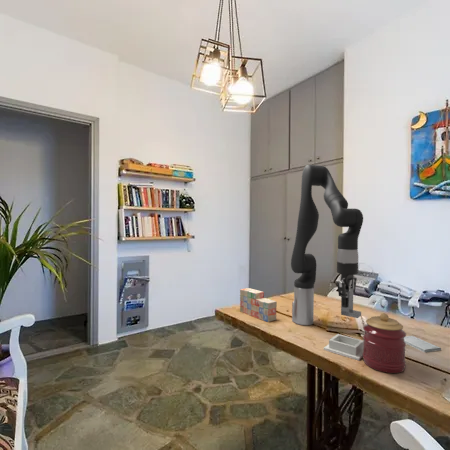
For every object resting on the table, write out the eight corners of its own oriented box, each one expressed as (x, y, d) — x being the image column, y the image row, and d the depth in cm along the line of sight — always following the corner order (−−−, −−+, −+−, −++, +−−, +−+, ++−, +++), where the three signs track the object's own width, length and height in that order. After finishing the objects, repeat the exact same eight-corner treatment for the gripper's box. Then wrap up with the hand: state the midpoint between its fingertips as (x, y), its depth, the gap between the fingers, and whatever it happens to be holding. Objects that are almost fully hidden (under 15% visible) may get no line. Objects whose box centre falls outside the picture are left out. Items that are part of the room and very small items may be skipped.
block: (341, 314, 113) (341, 288, 113) (345, 312, 116) (345, 286, 116) (357, 318, 109) (357, 290, 109) (361, 315, 112) (361, 289, 112)
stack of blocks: (276, 320, 148) (277, 295, 148) (267, 322, 144) (267, 297, 144) (248, 309, 165) (248, 287, 165) (239, 311, 162) (239, 288, 161)
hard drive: (441, 347, 115) (412, 335, 126) (424, 349, 112) (397, 337, 124) (441, 351, 115) (412, 339, 127) (424, 354, 112) (397, 340, 124)
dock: (323, 349, 114) (323, 339, 114) (335, 341, 122) (335, 332, 122) (359, 360, 105) (359, 350, 105) (368, 350, 113) (369, 340, 113)
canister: (378, 353, 111) (378, 306, 111) (413, 368, 100) (414, 316, 100) (354, 360, 105) (355, 310, 105) (389, 377, 94) (390, 322, 94)
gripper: (344, 258, 121) (344, 300, 121) (330, 261, 110) (329, 307, 111) (364, 260, 116) (363, 304, 116) (350, 263, 105) (350, 312, 106)
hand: (346, 305), depth 113 cm, fingers closed on block, 4 cm apart
